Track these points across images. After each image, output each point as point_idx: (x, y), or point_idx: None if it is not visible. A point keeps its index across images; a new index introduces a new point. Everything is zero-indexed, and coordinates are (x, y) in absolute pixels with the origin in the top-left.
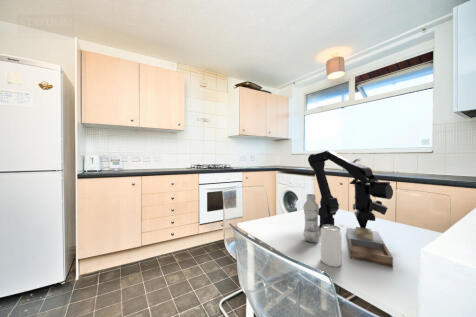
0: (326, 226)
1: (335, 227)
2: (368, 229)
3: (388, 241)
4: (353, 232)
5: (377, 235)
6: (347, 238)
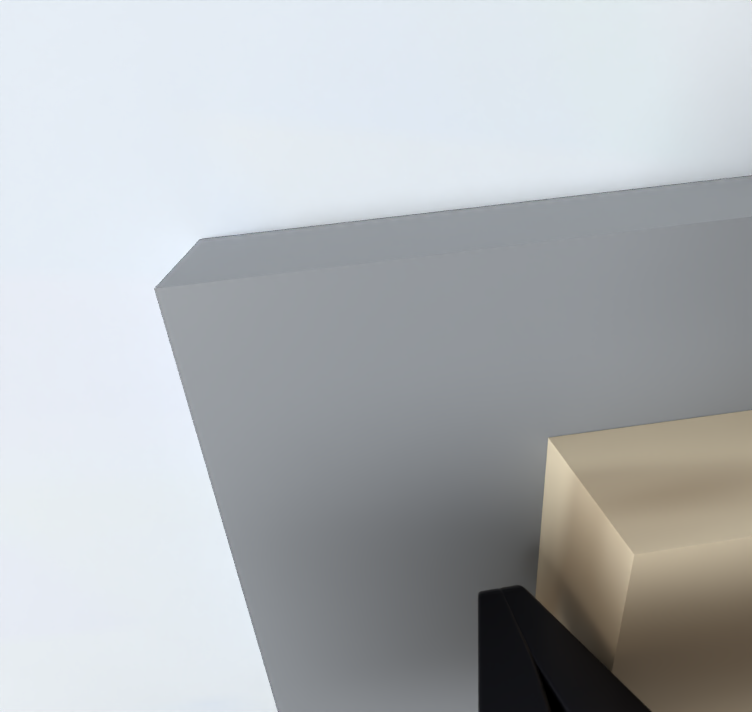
0: None
1: None
2: (724, 593)
3: (255, 8)
4: None
5: (534, 304)
6: None
